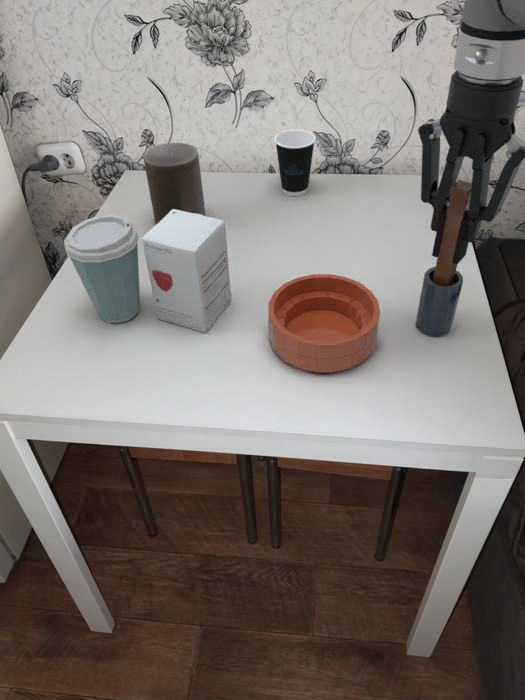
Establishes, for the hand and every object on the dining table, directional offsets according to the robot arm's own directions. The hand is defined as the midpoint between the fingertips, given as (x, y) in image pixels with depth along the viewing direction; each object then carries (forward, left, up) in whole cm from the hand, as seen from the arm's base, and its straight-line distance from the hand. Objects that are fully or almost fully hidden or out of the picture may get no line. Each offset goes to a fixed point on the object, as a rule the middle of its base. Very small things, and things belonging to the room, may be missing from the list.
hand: (448, 255), depth 80 cm
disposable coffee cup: (+42, +25, -13) cm, 51 cm away
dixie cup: (+41, -22, -13) cm, 48 cm away
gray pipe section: (0, 0, -13) cm, 13 cm away
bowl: (+12, +12, -13) cm, 21 cm away
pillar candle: (+52, 0, -13) cm, 54 cm away
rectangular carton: (+32, +18, -13) cm, 39 cm away
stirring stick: (0, 0, -12) cm, 12 cm away
